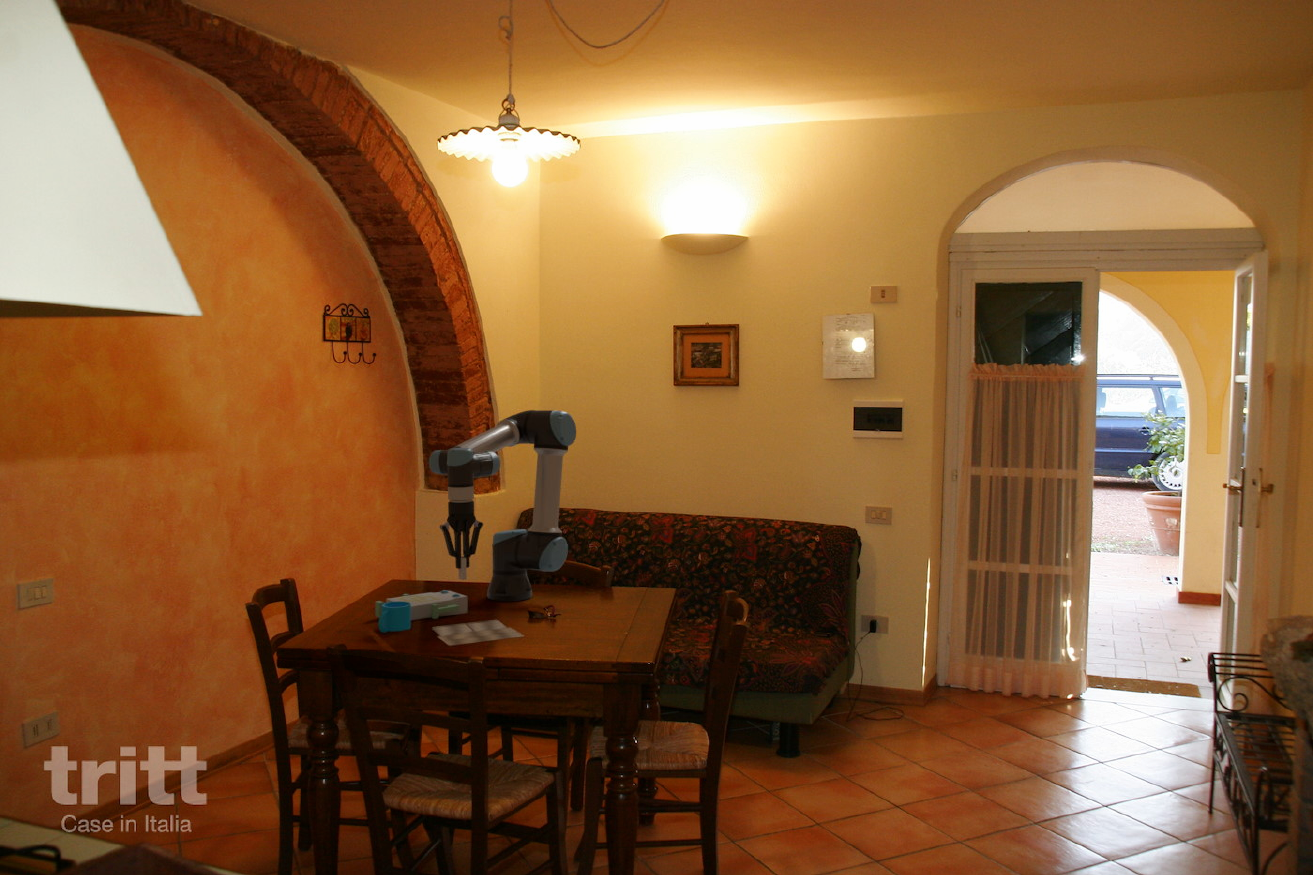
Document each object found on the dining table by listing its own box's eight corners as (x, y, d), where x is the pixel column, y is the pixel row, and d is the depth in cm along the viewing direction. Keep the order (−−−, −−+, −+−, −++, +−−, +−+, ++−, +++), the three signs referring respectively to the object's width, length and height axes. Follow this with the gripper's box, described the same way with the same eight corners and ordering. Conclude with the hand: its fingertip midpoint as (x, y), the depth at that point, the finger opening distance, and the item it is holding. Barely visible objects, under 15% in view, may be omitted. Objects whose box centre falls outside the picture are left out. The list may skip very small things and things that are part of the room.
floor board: (510, 631, 277) (510, 627, 277) (524, 640, 268) (524, 635, 268) (436, 640, 266) (436, 636, 266) (449, 649, 257) (449, 645, 256)
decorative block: (442, 586, 311) (474, 596, 296) (442, 605, 311) (474, 616, 296) (369, 597, 293) (399, 608, 279) (369, 617, 294) (399, 629, 279)
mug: (393, 627, 281) (393, 600, 280) (416, 630, 278) (416, 602, 277) (367, 637, 269) (367, 608, 269) (391, 640, 267) (391, 611, 266)
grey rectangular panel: (474, 635, 272) (475, 631, 272) (465, 627, 279) (466, 623, 279) (506, 631, 277) (507, 627, 277) (497, 623, 284) (497, 619, 284)
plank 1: (440, 639, 267) (440, 635, 267) (432, 631, 274) (432, 626, 274) (473, 635, 272) (473, 631, 272) (464, 627, 279) (464, 623, 279)
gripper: (477, 497, 285) (479, 573, 286) (435, 500, 278) (437, 579, 280) (486, 500, 278) (488, 578, 280) (443, 503, 272) (445, 584, 273)
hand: (462, 578), depth 280 cm, fingers closed
